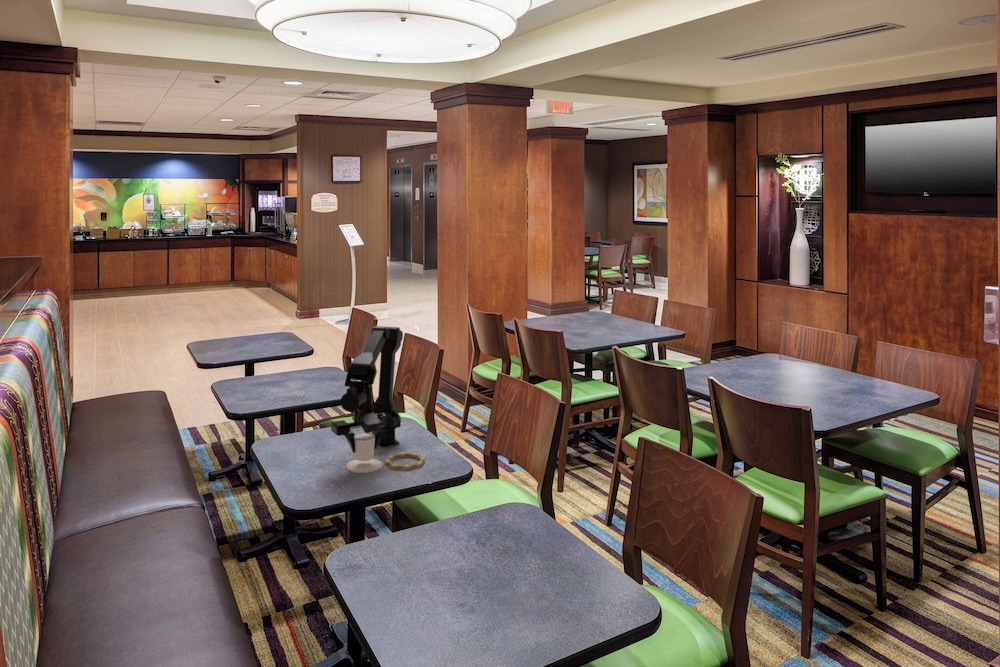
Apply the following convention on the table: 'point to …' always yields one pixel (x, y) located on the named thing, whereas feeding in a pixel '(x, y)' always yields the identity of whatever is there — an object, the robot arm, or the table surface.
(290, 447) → the table surface
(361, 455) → the shot glass
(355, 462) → the coaster mat
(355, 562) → the table surface
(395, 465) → the oak collar
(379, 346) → the robot arm
